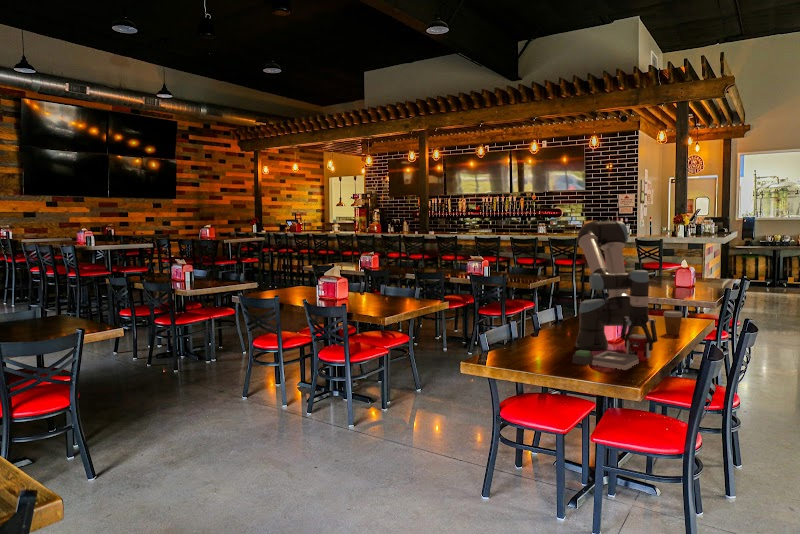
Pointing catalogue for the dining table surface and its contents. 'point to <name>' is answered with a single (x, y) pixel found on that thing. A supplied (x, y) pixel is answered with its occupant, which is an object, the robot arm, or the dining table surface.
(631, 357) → the pocket plate
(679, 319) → the disposable coffee cup
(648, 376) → the dining table surface
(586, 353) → the button
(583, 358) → the button base
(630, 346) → the canned food
